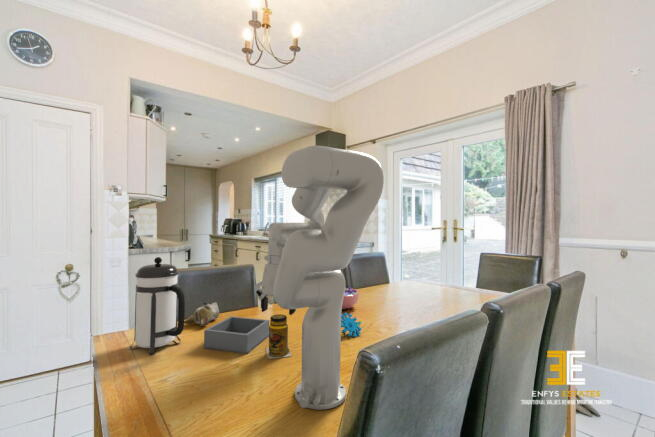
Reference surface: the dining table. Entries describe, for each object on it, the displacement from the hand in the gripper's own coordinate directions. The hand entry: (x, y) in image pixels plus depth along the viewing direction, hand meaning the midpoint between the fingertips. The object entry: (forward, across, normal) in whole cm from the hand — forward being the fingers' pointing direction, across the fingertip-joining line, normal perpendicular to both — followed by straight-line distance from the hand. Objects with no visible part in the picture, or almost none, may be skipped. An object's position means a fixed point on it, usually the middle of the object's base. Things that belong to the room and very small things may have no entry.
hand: (278, 312), depth 100 cm
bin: (+13, -16, +3) cm, 21 cm away
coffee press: (+14, -39, -8) cm, 42 cm away
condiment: (+13, +1, -1) cm, 13 cm away
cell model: (+14, +10, +57) cm, 60 cm away
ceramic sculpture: (+14, -40, +17) cm, 46 cm away
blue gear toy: (+13, +21, +22) cm, 33 cm away
